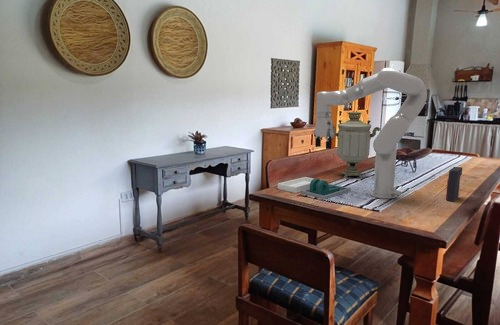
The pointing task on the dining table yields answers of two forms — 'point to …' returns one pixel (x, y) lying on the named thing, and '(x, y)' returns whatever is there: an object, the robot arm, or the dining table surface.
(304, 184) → the parts tray
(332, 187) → the bracket
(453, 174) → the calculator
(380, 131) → the robot arm
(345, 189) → the grey rectangular frame
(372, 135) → the samovar
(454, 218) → the dining table surface
